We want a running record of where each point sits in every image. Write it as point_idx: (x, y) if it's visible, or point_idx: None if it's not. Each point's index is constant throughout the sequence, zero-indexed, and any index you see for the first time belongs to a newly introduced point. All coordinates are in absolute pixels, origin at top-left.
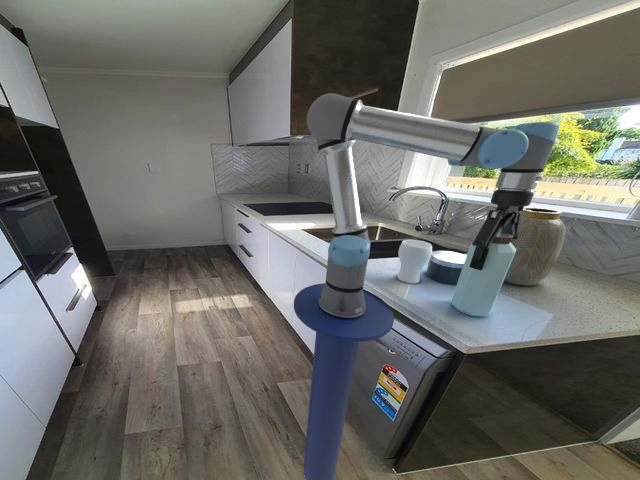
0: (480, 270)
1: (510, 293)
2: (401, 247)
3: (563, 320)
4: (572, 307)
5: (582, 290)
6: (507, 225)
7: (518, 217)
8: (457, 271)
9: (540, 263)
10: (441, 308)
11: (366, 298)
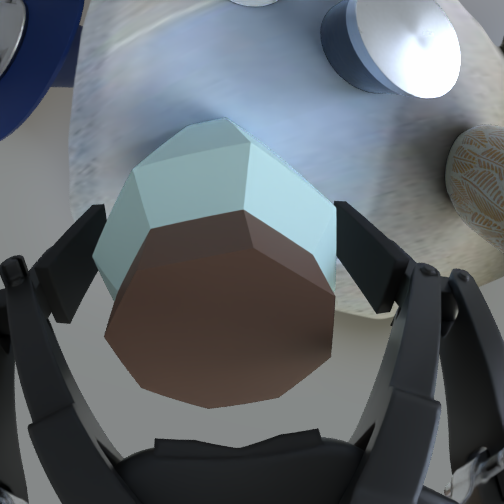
0: None
1: (396, 187)
2: None
3: (337, 277)
4: None
5: (470, 254)
6: (376, 397)
7: (453, 440)
8: (362, 71)
9: (484, 233)
10: (149, 124)
11: (47, 21)
